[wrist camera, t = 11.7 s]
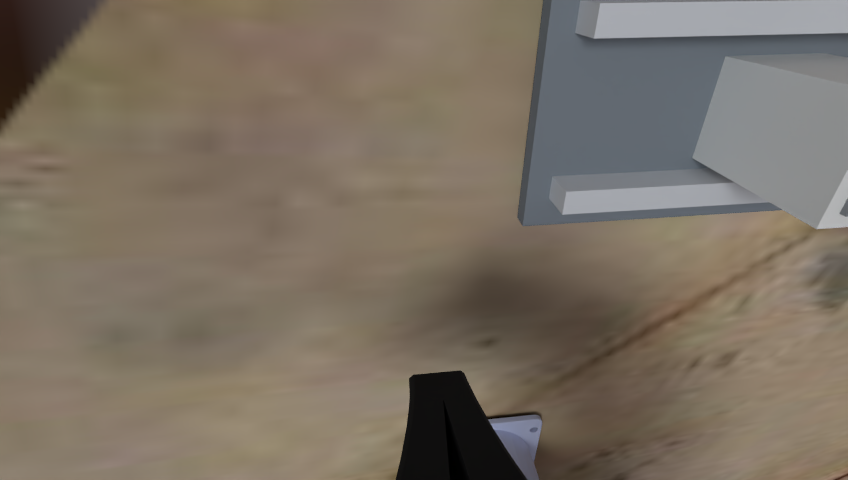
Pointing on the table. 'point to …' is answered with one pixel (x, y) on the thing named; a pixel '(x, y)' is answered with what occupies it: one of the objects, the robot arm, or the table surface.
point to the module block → (783, 132)
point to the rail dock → (647, 101)
